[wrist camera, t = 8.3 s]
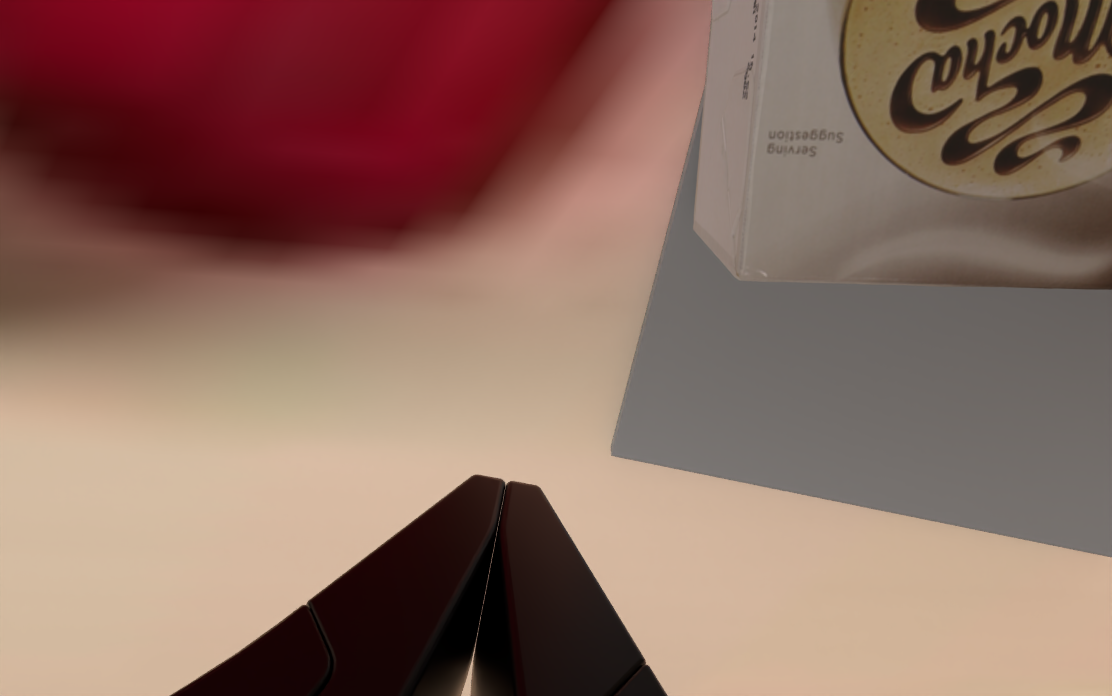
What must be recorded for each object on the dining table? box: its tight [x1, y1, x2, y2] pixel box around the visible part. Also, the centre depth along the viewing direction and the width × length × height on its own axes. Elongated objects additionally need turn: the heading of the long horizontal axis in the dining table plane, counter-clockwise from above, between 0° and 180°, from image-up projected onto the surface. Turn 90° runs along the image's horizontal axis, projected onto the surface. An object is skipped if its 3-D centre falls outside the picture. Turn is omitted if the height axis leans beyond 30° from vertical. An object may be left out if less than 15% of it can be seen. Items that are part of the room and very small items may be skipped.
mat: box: [611, 87, 1112, 557], centre depth 20 cm, size 17×15×1 cm
